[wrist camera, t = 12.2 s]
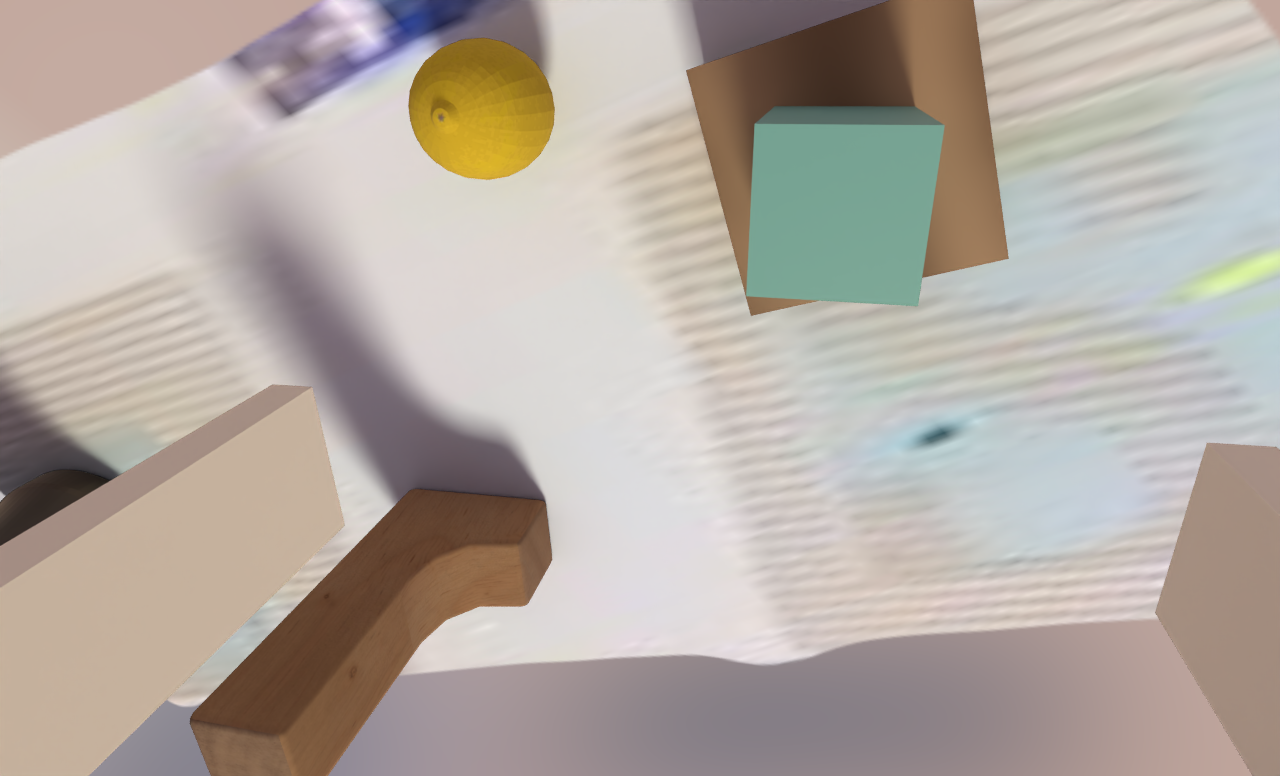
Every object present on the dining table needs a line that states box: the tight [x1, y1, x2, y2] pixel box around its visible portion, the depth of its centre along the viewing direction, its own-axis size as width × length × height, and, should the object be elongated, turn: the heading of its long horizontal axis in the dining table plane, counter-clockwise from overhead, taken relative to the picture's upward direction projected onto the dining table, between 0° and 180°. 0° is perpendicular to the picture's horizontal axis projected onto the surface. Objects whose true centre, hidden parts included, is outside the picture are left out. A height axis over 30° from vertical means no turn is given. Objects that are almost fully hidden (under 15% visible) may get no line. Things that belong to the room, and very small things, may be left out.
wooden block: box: [190, 489, 552, 776], centre depth 37 cm, size 9×4×18 cm, turn 93°
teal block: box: [746, 106, 945, 306], centre depth 25 cm, size 5×5×8 cm
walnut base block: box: [686, 0, 1009, 316], centre depth 30 cm, size 10×10×5 cm
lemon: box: [408, 38, 555, 180], centre depth 31 cm, size 6×6×8 cm
